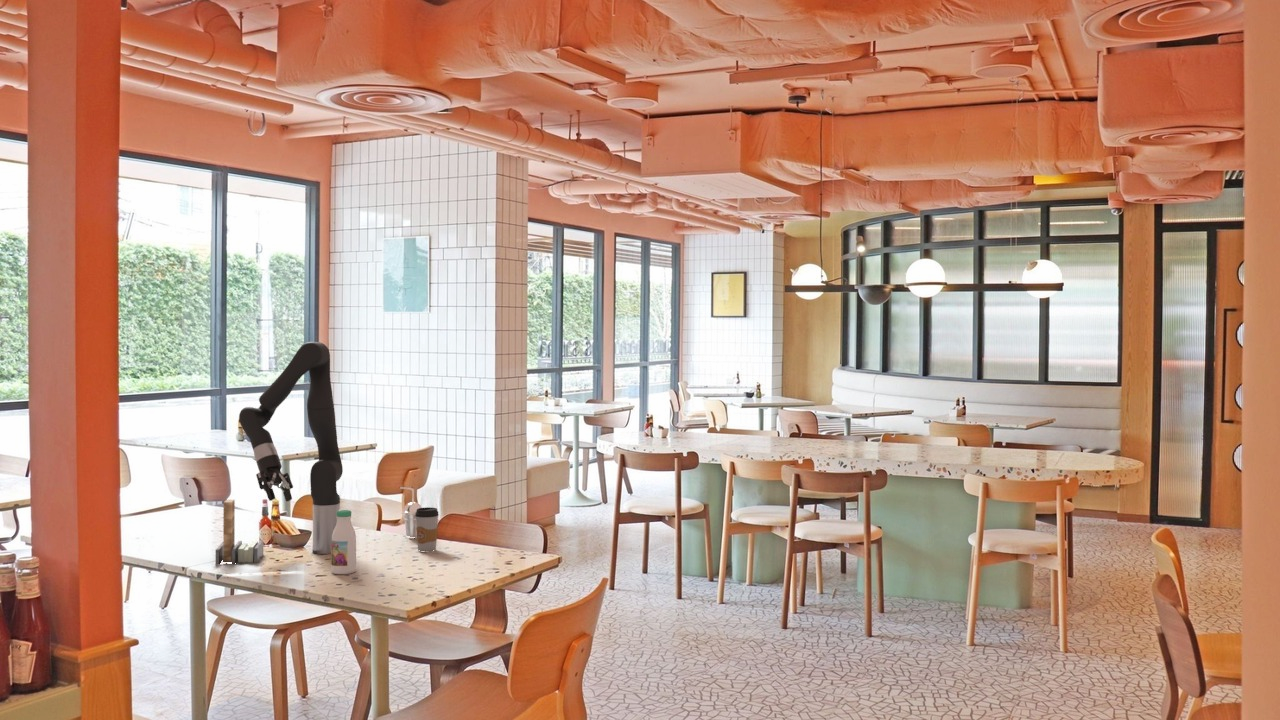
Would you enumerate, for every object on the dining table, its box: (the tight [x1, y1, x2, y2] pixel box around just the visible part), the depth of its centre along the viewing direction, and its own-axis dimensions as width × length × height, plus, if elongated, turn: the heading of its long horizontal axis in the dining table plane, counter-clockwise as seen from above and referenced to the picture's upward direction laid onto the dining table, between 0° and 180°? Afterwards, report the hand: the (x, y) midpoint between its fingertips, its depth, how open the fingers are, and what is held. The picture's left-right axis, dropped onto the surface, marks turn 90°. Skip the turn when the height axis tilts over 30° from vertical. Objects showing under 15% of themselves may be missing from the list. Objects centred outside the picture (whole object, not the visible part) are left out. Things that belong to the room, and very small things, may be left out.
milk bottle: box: [330, 509, 357, 575], centre depth 315 cm, size 8×8×20 cm
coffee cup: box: [415, 506, 440, 552], centre depth 350 cm, size 8×8×15 cm
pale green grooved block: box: [238, 540, 259, 562], centre depth 329 cm, size 5×10×5 cm, turn 14°
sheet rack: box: [215, 539, 264, 565], centre depth 328 cm, size 13×14×6 cm
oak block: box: [222, 499, 236, 562], centre depth 327 cm, size 2×6×20 cm, turn 14°
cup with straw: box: [398, 486, 423, 540], centre depth 373 cm, size 8×9×20 cm
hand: (281, 500), depth 337 cm, fingers open, 8 cm apart
